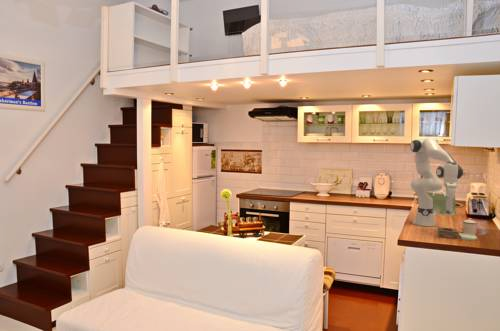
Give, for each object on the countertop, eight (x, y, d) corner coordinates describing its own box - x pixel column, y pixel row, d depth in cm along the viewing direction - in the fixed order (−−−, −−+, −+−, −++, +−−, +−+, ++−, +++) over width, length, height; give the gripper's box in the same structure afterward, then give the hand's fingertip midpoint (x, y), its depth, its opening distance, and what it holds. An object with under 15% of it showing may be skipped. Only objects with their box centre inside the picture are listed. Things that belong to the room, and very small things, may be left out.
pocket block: (437, 233, 290) (438, 227, 290) (455, 235, 286) (456, 228, 286) (439, 237, 279) (439, 230, 279) (457, 239, 275) (458, 232, 274)
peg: (445, 212, 284) (446, 197, 284) (451, 212, 283) (452, 198, 282) (445, 213, 280) (446, 198, 279) (452, 213, 279) (453, 198, 278)
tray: (458, 235, 285) (458, 233, 285) (474, 237, 281) (474, 234, 281) (460, 239, 274) (461, 236, 274) (477, 241, 270) (477, 238, 270)
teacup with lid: (474, 232, 296) (475, 217, 295) (477, 235, 287) (478, 220, 286) (457, 231, 300) (458, 216, 299) (459, 233, 291) (460, 218, 291)
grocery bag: (453, 213, 377) (455, 189, 375) (456, 215, 364) (457, 191, 362) (418, 210, 387) (419, 188, 385) (419, 213, 374) (421, 189, 372)
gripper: (444, 182, 291) (443, 200, 292) (447, 185, 272) (445, 204, 273) (453, 182, 288) (452, 201, 289) (457, 185, 269) (455, 205, 270)
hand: (449, 202), depth 281 cm, fingers closed on peg, 4 cm apart
